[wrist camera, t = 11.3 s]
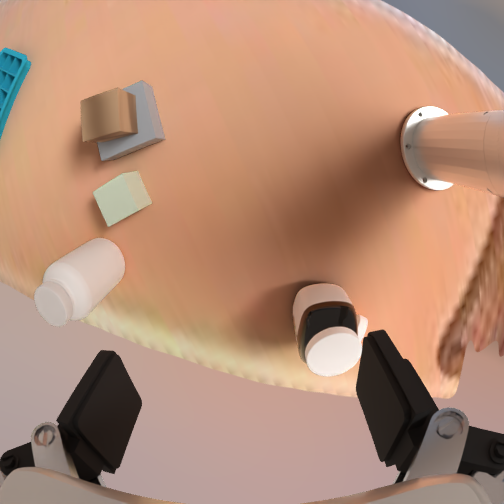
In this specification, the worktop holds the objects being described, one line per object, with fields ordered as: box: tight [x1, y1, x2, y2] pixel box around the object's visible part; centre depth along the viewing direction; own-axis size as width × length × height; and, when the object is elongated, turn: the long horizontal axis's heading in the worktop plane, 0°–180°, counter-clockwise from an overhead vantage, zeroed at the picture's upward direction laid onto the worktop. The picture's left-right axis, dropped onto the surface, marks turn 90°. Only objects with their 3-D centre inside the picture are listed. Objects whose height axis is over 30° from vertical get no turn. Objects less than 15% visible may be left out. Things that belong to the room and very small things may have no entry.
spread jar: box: [293, 283, 368, 376], centre depth 36 cm, size 12×11×12 cm
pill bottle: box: [34, 238, 125, 327], centre depth 31 cm, size 8×8×15 cm
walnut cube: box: [81, 88, 138, 142], centre depth 26 cm, size 5×5×5 cm
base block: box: [97, 81, 165, 161], centre depth 30 cm, size 8×8×4 cm
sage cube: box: [93, 171, 152, 227], centre depth 33 cm, size 5×5×5 cm
